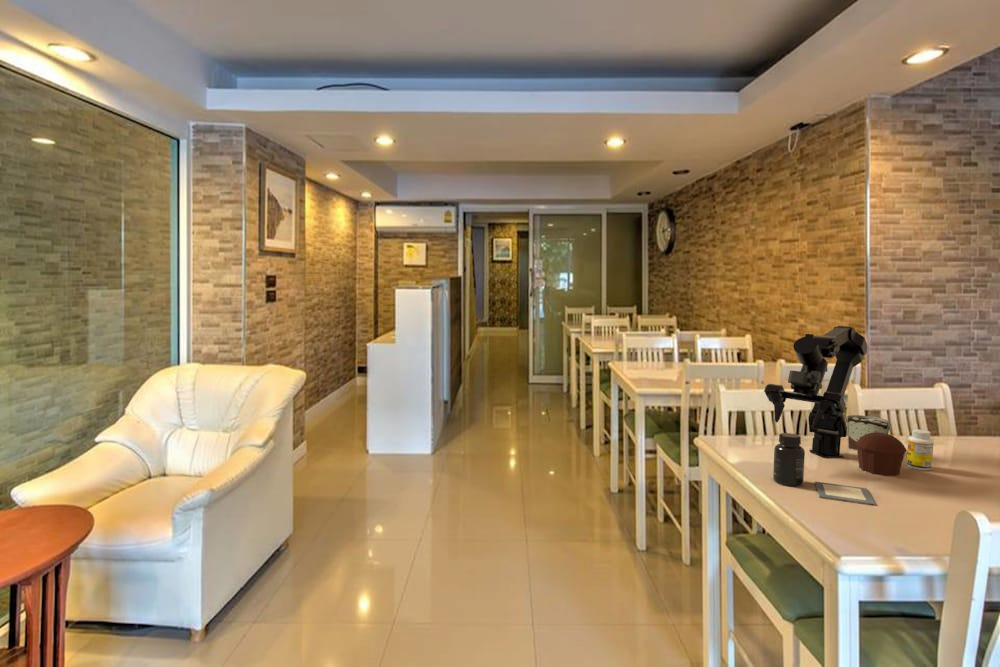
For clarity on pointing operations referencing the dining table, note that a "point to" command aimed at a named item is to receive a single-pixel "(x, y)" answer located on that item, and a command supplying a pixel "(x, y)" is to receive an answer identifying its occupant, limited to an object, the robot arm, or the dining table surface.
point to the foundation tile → (844, 493)
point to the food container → (864, 427)
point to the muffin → (880, 454)
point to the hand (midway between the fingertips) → (794, 424)
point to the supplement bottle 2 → (920, 450)
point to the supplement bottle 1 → (789, 460)
